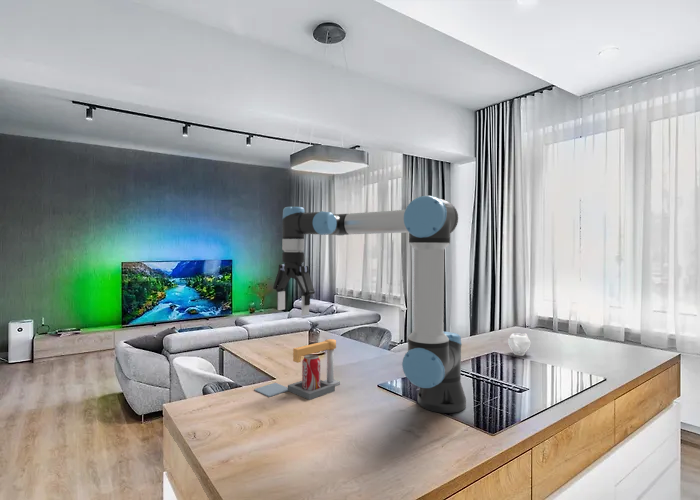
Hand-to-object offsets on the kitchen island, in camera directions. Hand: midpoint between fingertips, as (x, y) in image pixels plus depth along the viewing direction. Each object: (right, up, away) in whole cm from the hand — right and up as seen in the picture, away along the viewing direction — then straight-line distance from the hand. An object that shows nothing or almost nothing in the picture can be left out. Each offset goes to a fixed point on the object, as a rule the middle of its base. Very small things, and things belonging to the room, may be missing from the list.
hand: (292, 312), depth 143 cm
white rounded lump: (+98, -27, +46) cm, 112 cm away
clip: (+8, -15, -1) cm, 17 cm away
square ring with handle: (+9, -27, 0) cm, 28 cm away
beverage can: (+7, -27, -2) cm, 28 cm away
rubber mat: (-7, -27, -1) cm, 28 cm away
